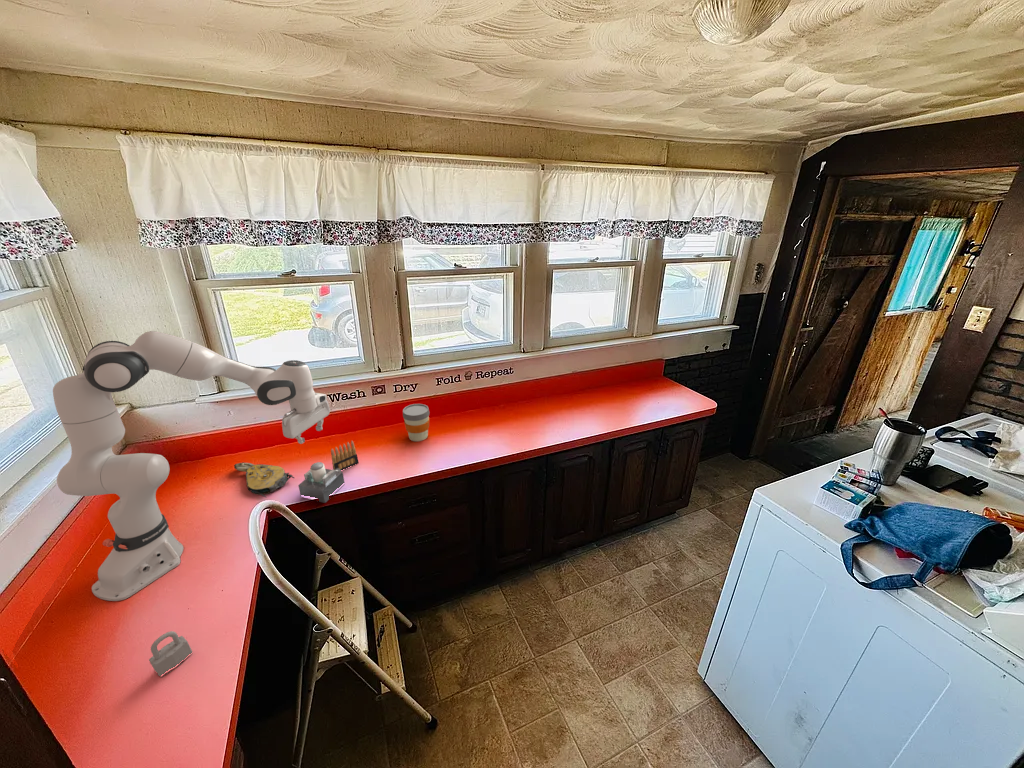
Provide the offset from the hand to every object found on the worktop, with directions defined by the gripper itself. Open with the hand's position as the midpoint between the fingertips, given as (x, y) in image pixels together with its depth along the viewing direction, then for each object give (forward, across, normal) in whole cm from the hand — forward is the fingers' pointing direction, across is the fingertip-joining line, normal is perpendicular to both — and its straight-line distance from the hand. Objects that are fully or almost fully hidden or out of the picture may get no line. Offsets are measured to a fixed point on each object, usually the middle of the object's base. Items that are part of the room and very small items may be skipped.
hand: (310, 436), depth 154 cm
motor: (+25, +2, 0) cm, 25 cm away
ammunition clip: (+26, +16, +1) cm, 30 cm away
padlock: (+26, -67, -10) cm, 72 cm away
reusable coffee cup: (+25, +48, -17) cm, 57 cm away
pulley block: (+26, -1, +30) cm, 39 cm away
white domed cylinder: (+19, 0, 0) cm, 19 cm away
